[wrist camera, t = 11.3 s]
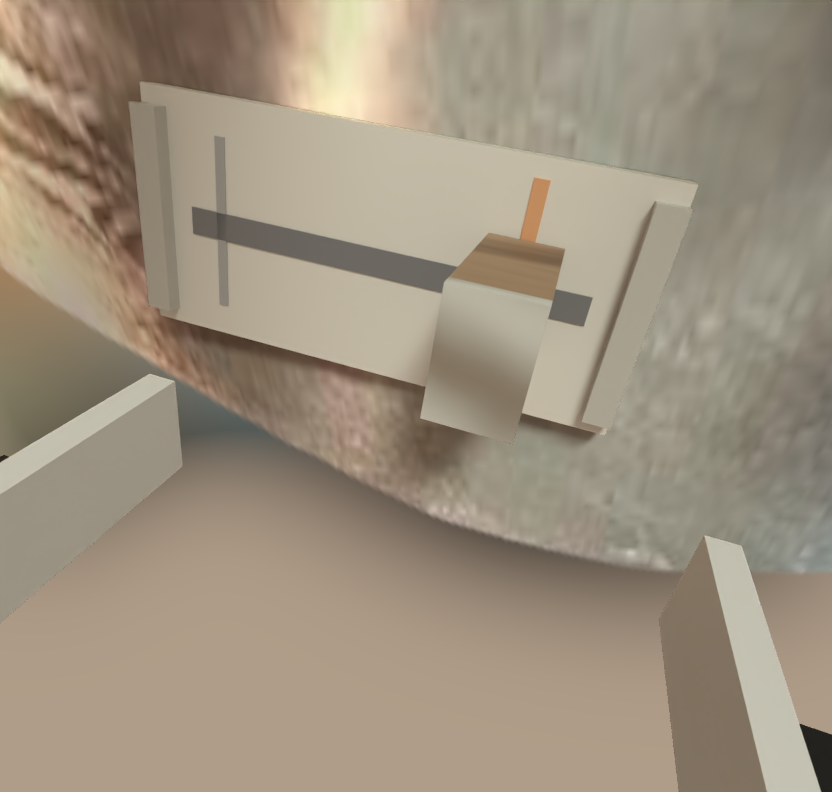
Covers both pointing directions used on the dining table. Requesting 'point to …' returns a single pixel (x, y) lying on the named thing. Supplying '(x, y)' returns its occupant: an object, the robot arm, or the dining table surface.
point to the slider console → (392, 239)
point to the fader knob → (490, 335)
